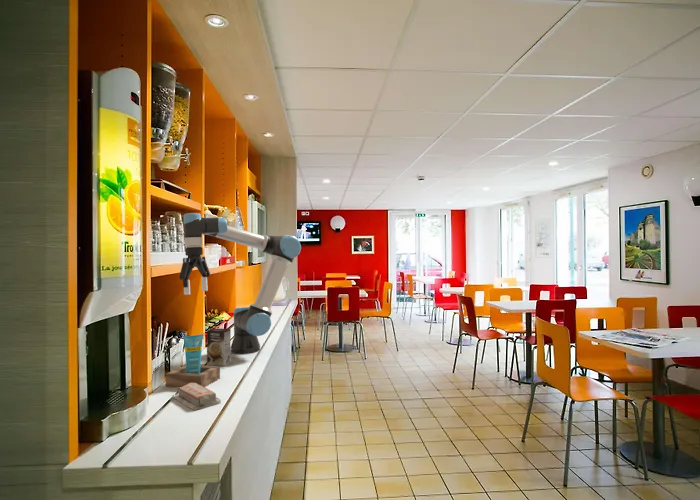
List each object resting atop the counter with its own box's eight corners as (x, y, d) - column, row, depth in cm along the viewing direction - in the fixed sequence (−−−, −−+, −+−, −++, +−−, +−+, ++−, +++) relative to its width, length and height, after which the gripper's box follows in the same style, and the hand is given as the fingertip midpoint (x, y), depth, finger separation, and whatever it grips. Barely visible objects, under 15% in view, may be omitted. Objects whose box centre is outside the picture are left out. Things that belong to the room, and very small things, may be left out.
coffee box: (206, 365, 193) (206, 330, 193) (214, 361, 199) (213, 327, 199) (224, 366, 190) (223, 331, 190) (231, 362, 197) (230, 328, 197)
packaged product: (221, 390, 145) (194, 397, 138) (222, 404, 145) (194, 412, 138) (198, 379, 158) (172, 385, 150) (198, 391, 158) (172, 398, 151)
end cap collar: (187, 376, 176) (187, 364, 176) (220, 378, 172) (219, 366, 172) (165, 386, 162) (165, 373, 162) (201, 389, 159) (200, 376, 159)
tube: (184, 385, 163) (184, 337, 163) (182, 382, 167) (182, 334, 167) (204, 382, 167) (204, 334, 167) (201, 379, 171) (201, 332, 171)
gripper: (202, 246, 205) (204, 289, 205) (168, 247, 180) (171, 296, 181) (215, 245, 203) (218, 289, 203) (184, 247, 179) (186, 296, 179)
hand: (196, 292), depth 192 cm, fingers open, 13 cm apart
